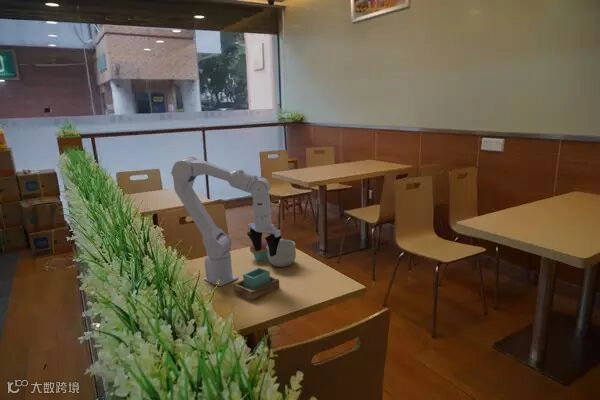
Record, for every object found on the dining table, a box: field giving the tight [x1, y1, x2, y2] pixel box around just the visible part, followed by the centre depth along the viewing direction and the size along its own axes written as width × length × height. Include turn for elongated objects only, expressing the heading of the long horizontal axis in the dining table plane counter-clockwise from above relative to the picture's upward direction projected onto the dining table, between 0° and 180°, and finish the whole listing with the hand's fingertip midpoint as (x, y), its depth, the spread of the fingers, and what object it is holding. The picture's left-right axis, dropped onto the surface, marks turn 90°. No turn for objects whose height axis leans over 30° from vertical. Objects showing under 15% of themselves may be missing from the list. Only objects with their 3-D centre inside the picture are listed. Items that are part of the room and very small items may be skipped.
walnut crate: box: [232, 275, 280, 302], centre depth 132 cm, size 9×11×3 cm
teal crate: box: [242, 267, 271, 291], centre depth 132 cm, size 5×7×6 cm
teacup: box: [266, 238, 297, 268], centre depth 154 cm, size 14×11×8 cm
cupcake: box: [249, 239, 268, 261], centre depth 159 cm, size 9×8×12 cm
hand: (265, 253), depth 138 cm, fingers open, 7 cm apart
